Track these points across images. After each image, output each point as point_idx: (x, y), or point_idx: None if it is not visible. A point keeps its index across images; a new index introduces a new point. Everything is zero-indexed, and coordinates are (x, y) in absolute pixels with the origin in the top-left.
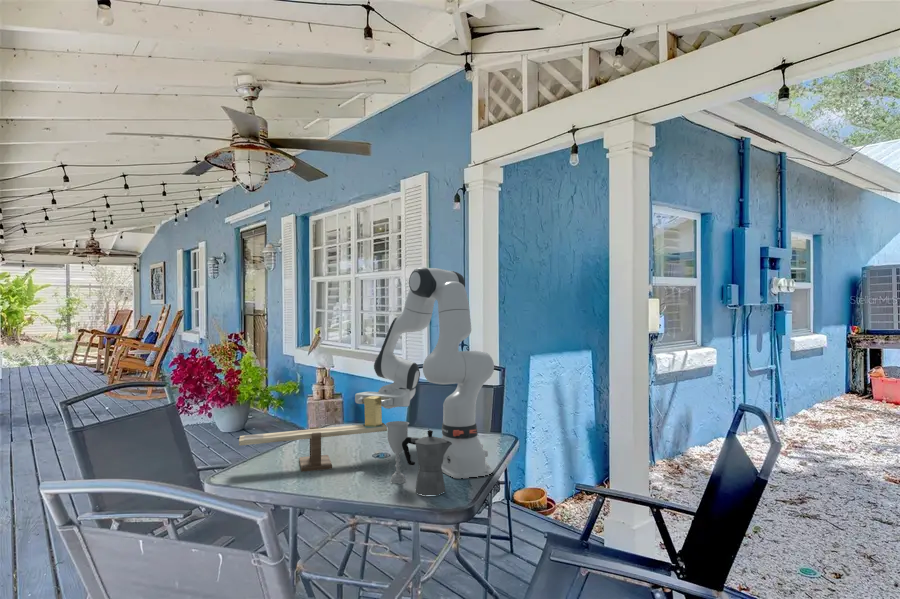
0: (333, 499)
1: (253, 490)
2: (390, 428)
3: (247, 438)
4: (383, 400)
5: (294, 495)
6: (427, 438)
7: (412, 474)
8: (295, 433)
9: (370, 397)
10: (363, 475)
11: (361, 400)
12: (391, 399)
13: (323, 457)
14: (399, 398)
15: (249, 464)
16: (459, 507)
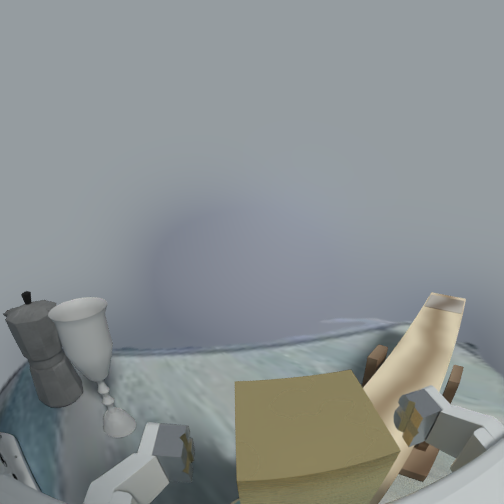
0: (200, 351)
1: (334, 334)
2: (96, 307)
3: (437, 297)
4: (165, 426)
5: (265, 344)
6: (34, 302)
7: (94, 464)
8: (424, 337)
9: (326, 404)
10: (212, 439)
11: (400, 398)
12: (98, 482)
13: (409, 457)
14: (18, 481)
15: (470, 366)
16: None
